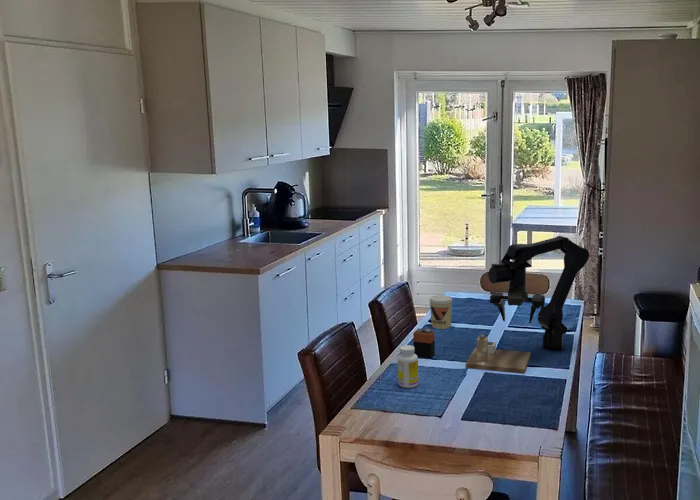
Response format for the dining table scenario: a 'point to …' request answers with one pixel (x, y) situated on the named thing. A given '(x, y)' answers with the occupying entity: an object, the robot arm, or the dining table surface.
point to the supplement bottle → (407, 367)
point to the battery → (424, 343)
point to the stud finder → (491, 347)
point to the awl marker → (482, 348)
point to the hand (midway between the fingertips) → (517, 322)
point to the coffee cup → (441, 311)
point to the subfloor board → (501, 361)
